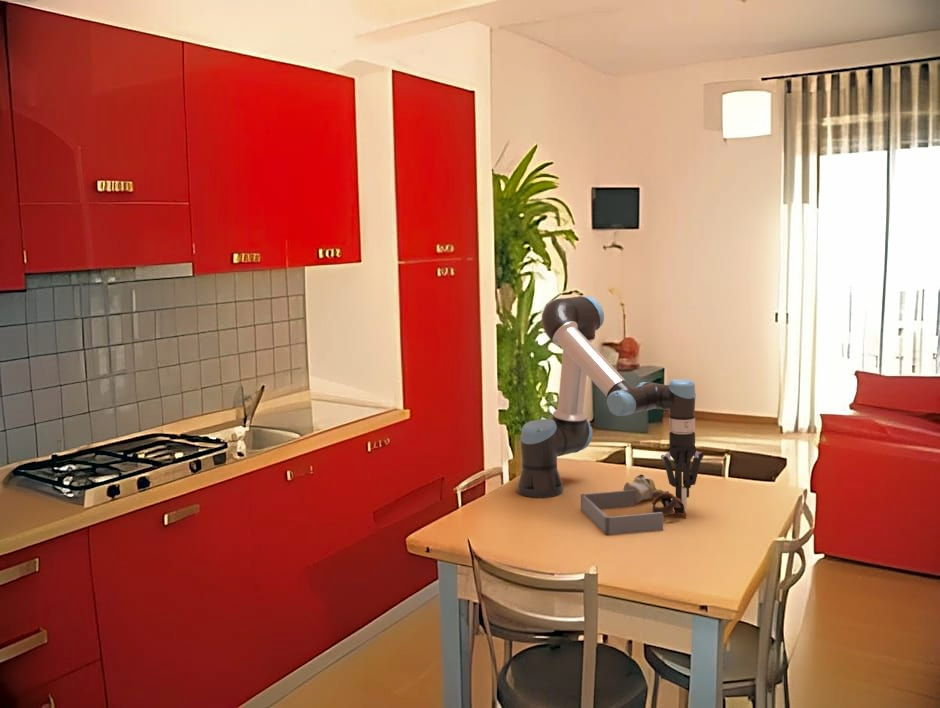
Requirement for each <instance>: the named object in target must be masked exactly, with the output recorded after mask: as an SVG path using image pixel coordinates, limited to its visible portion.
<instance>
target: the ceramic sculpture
mask: <svg viewBox="0 0 940 708" xmlns="http://www.w3.org/2000/svg"><path fill="white" fill-rule="evenodd" d="M625 490H634V505H635V504H636V505H637V504H639V503H640V502H641V501H649V500H651V499H655V498H656V497H657V496H658V495H660V494H663V493H665V492H667V493H670V491H668V490H662V489H657V488H656V484H655V481H653V479H652V478H650V477H647V476H644V475H643V474H639V475H638V476H636V477H634V480H633V481H632V482H628V481H627V482H626V483H625V484H624V486H623V489H622V491H625Z"/></svg>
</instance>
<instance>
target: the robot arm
mask: <svg viewBox="0 0 940 708" xmlns="http://www.w3.org/2000/svg"><path fill="white" fill-rule="evenodd" d="M604 320H605V313H604V309H603V306H602V305H600V303H599V301H598V299H596V298H594V297H592V296H587V295H586V296H582V295H579V296H573V297H565V298H561V297H560V298H556V299H553V300H551V301H550V302H548V303H547V304H546V306H545V307H544V308H543V310H542V314H541V325H542V328H543V331H544V333H545V335H546V336H547V338H549V340H550V341H551V342H552V344H554V345H555V346H560V347H561V348H562V357H561V358H562V359H561V369H560V378H559V379H560V380H559V381H560V382H559V383H560V384H559V392H558V393H559V394H558V402H557V403H558V404H557V408H556V410H555V411H553V412H552V419H548V418H541V419H535V420H531V421H528V422H526V423H525V424H524V425H523V426H522V427H521V434H520V442H521V443H520V446H521V448H520V449H521V472H520V475H519V479H518V482H517V486H516V487H517V493H518V494H519V495H521V496H524V497H530V498H551V497H554V496H560V495H561V494H562V493H564V484H563V481H562V478H561V476H560V475H561V474H560V473H559V470H558V457H562V456H566V455H569V454H575V453H576V454H577V453H578V452H580V451H583V450H584V449H586V448H588V446H590V444H591V442H592V438H593V427H592V426H591V422H590V421H589V419H588V415H587V414H586V413H585V411H584V405H585V394H586V385H587V384H586V383H587V377H588V378H589V379H590V380H591V381H592V383H594V385H595V386H596V387H597V388H598V389H599V390H600V391H601V392H602V394H603V395H604V396H605V397H606V398H607V399H606V406H607V407H608V410H609V412H610V413H611V414H612V415H614V416H617V417H624V416H630V415H633V414H637V413H640V412H645V411H651V410H653V409H655V410H656V409H658V410H665V411H668V413H669V415H668V418H669V419H668V423H669V424H668V425H669V426H668V427H669V429H668V430H669V431H670V432H669V434H668V435H669V436H668V439H669V441H668V443H669V448H668V450H667V452H666V453H665V454H661V455H660V459H661V460H662V462H663V463H664V467H665V472H666V474H667V480H668V483H669V485H670V486H672V487H674V488H675V497H677V498H679V499H680V500H681V501H682V503H683V506H684V509H685V510H687V506H688V505H687V504H688V503H687V502H688V501H687V498H690V488H691V487H692V486H694V485H696V483H697V478H698V474H699V469H700V465H701V462H702V459H703V458H704V456H705V455H704V453H702V452H701V451H697V447H696V433H695V431H696V413H695V412H696V396H697V395H696V388H695V386H696V385H695V382H694V381H693V380H690V379H683V378H676V379H672V380H670V381H669V383H668V384H661V383H656V382H652V381H648V382H647V381H643V382H639V384H638V385H636V386H635V387H633V386H631V385H630V384H629V383H628V382H627V380H626V379H625V378H624V377H623V376H622V375H621V374H620V373H619V372H618V371H617V370H616V368H615V367H613V366H612V364H610V362H609V361H608V360H607V359H606V358H605V357H604V356H603V354H601V353H600V352H599V351H598V349H597V348H596V347H595V346H594V345H593V344H592V342H593V341H594V340H595V338H596V331H598V330H599V329H600V328H601V327H602V326H603V324H604ZM692 458H693V460H692ZM671 459H673V464H674V469H673V465H672V462H671ZM691 462H692V464H691Z"/></svg>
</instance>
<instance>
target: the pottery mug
mask: <svg viewBox="0 0 940 708" xmlns="http://www.w3.org/2000/svg"><path fill="white" fill-rule="evenodd" d="M658 502H661V504H662V507H658V506H656V504H658ZM651 504H652V509H651V513H656V512H662V513H663V516H667V515H675V514H682V515H684V518H685V519H686V518H687V513H686V512H687V511H686V509H684V506H683V503H682V501H681V500H680V499H679V498H677V497H676V495H675V494H673V493H671V492H669V493H667V492H665V493H663V494H660V495H658V496H657V497H656V498H653V499H652V502H651Z"/></svg>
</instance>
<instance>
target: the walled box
mask: <svg viewBox="0 0 940 708" xmlns="http://www.w3.org/2000/svg"><path fill="white" fill-rule="evenodd" d="M630 507H635V504H634V490H625V491H624V490H617V491H616V490H615V491H604V492H593V493H583V494H580V511H581V512H582V513H583V514H584V515H585V516H586V517H587V518H588V519H589V520H590V521H591V522H592V523H593V524H594V525H595V526H596V527H597V528H598V529H599V530H600V531H601V532H602V533H603V534H604V535H605V536H614V535H615V536H616V535H625V534H633V533H634V534H635V533H643V532H655V531H663V530H664V515H663V513H662V512H656V513H652V512H648V513H647V512H646V513H638V514H626V515H616V516H614V515H613V516H607V515H606V513H604V512H603V511H602V510H608V509H620V508H630Z"/></svg>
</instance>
